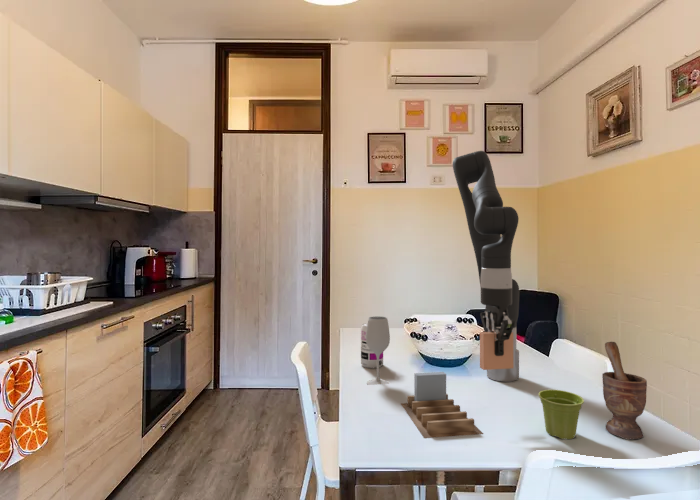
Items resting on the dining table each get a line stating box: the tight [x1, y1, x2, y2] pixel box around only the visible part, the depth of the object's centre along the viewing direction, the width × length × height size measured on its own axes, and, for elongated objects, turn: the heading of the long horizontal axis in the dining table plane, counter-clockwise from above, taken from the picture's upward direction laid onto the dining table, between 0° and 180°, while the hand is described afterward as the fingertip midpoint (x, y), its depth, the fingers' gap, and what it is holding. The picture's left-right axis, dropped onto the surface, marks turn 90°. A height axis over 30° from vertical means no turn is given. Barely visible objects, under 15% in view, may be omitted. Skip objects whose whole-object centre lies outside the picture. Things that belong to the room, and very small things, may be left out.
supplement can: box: [360, 322, 384, 369], centre depth 149 cm, size 8×8×15 cm
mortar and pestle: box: [601, 341, 648, 441], centre depth 96 cm, size 12×9×20 cm
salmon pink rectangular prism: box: [479, 331, 513, 371], centre depth 102 cm, size 8×2×9 cm, turn 99°
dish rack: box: [400, 393, 484, 439], centre depth 101 cm, size 14×20×4 cm
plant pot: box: [538, 389, 585, 440], centre depth 94 cm, size 9×9×9 cm
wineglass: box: [366, 316, 391, 386], centre depth 129 cm, size 8×8×21 cm
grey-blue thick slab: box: [413, 371, 447, 401], centre depth 107 cm, size 8×2×9 cm, turn 98°
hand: (496, 353), depth 103 cm, fingers closed on salmon pink rectangular prism, 1 cm apart
